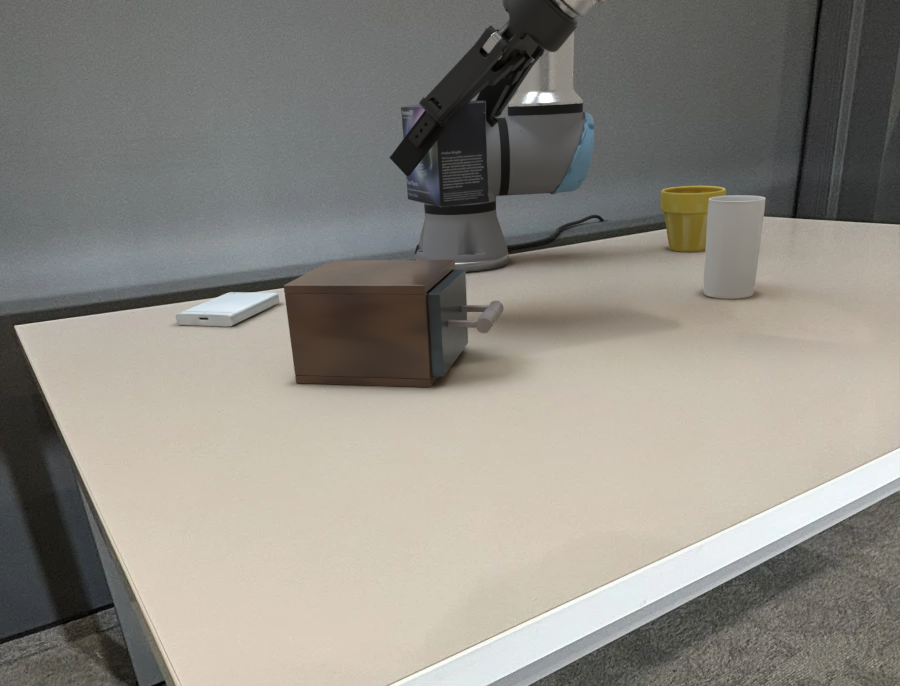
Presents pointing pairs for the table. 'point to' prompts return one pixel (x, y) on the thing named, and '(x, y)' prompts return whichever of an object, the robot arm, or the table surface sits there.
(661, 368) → the table surface
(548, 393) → the table surface
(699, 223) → the flower pot
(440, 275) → the cabinet
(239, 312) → the hard drive
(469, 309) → the drawer
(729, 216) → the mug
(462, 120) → the small box
